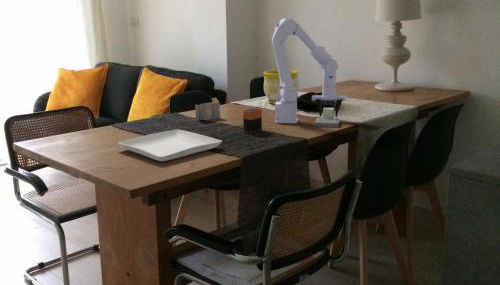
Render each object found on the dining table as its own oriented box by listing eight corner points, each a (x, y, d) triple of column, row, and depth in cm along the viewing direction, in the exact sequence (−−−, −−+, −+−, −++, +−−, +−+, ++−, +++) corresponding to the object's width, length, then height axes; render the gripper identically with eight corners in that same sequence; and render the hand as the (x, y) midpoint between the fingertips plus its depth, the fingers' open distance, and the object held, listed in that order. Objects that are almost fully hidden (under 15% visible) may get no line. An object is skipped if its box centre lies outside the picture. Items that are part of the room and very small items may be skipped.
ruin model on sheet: (216, 117, 237) (215, 97, 234) (220, 118, 235) (219, 98, 232) (195, 121, 230) (194, 100, 228) (198, 122, 228) (197, 101, 226)
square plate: (116, 151, 183) (115, 141, 182) (178, 137, 201) (177, 128, 200) (160, 166, 164) (159, 155, 163) (224, 149, 183) (223, 139, 182)
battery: (243, 132, 206) (242, 108, 204) (254, 129, 211) (254, 105, 209) (250, 133, 204) (250, 109, 201) (262, 130, 208) (262, 106, 206)
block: (322, 120, 225) (323, 109, 223) (323, 118, 229) (323, 107, 228) (333, 121, 224) (333, 109, 222) (333, 119, 228) (333, 108, 227)
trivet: (314, 126, 214) (314, 122, 214) (316, 121, 223) (316, 117, 223) (338, 127, 212) (338, 123, 212) (339, 121, 221) (339, 118, 221)
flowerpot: (259, 105, 264) (259, 73, 260) (269, 99, 280) (268, 69, 276) (293, 106, 258) (293, 74, 254) (301, 100, 275) (301, 69, 271)
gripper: (346, 84, 225) (345, 115, 228) (313, 84, 228) (312, 114, 231) (345, 87, 218) (344, 118, 222) (311, 86, 221) (311, 117, 224)
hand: (328, 116), depth 226 cm, fingers open, 6 cm apart
